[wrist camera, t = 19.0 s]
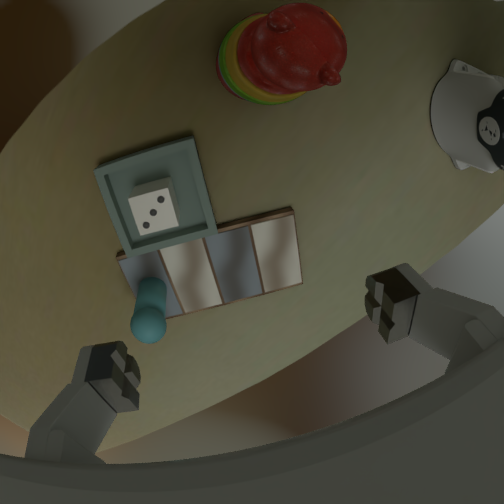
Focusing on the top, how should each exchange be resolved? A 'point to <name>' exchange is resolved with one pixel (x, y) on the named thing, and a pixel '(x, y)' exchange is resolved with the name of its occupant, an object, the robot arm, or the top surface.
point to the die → (154, 206)
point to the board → (223, 264)
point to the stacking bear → (282, 54)
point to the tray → (150, 169)
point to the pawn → (150, 311)
